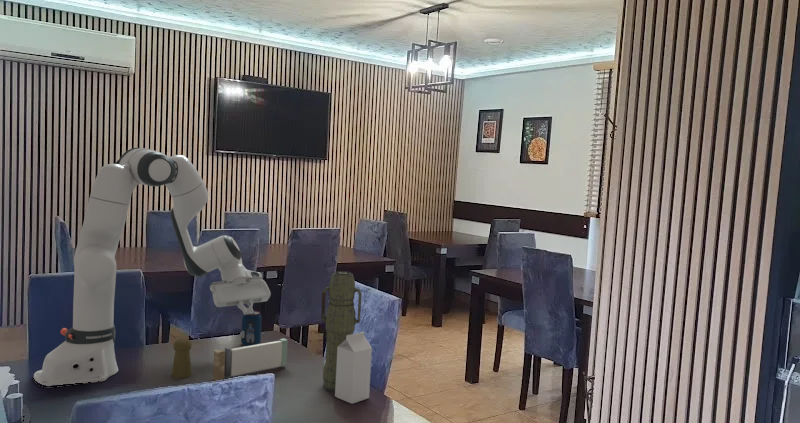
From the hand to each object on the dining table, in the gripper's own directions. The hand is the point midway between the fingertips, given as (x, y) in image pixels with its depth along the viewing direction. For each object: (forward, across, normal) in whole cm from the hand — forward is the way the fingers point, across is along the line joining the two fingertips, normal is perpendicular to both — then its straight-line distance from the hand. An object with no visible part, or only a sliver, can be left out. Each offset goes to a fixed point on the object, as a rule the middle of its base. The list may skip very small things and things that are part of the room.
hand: (249, 313), depth 213 cm
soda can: (+3, +7, +18) cm, 19 cm away
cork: (+15, -26, +6) cm, 31 cm away
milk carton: (+46, +6, -25) cm, 53 cm away
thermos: (+39, +8, -18) cm, 44 cm away
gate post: (+22, -19, -2) cm, 29 cm away
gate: (+22, -6, -2) cm, 23 cm away
